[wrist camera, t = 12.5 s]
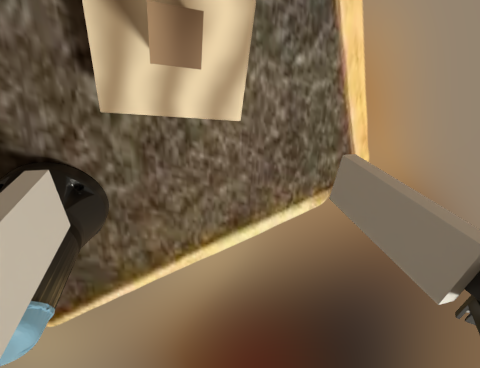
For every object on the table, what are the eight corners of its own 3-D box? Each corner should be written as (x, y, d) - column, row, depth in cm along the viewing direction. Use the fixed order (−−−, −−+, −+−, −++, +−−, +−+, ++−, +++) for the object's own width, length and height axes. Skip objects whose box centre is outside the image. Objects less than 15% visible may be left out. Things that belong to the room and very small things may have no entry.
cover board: (102, 109, 28) (73, 138, 20) (70, -95, 20) (-5, -192, 11) (238, 118, 33) (260, 145, 24) (259, -44, 24) (303, -87, 16)
